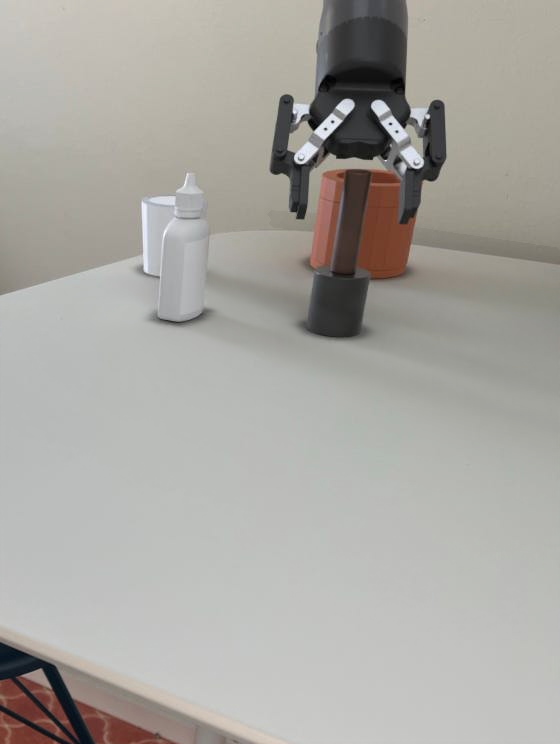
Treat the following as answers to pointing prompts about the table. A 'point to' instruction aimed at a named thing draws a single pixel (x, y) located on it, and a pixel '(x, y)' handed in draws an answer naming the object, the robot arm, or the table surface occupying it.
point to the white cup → (157, 228)
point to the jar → (365, 225)
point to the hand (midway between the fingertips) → (353, 216)
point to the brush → (343, 267)
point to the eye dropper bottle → (184, 257)
